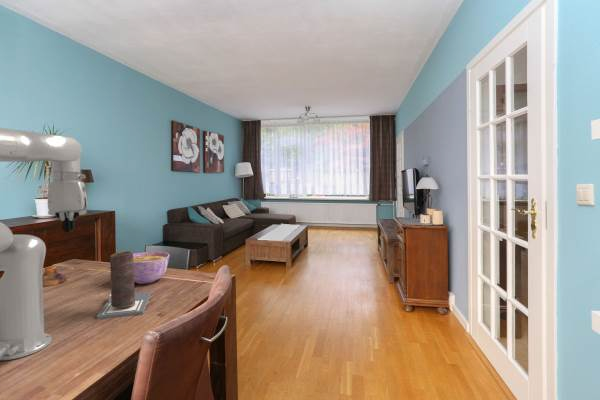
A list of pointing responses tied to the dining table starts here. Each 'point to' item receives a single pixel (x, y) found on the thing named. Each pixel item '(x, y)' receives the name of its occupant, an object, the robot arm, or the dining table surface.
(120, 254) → the brown cylinder
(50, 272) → the orange purple rounded piece
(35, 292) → the robot arm
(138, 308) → the grey piece
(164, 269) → the bowl of food
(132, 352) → the dining table surface
